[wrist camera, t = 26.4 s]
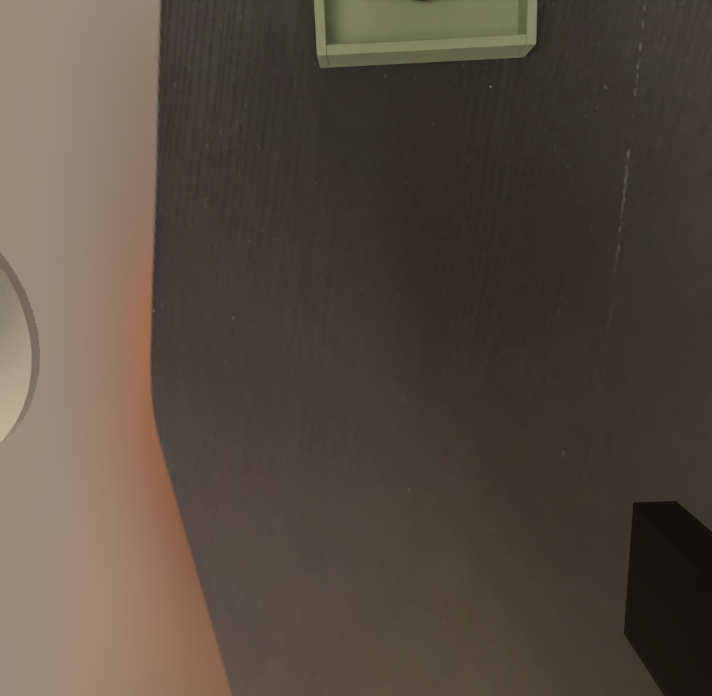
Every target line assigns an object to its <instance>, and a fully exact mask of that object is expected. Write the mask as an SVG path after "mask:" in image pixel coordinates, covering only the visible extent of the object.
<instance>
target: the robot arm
mask: <svg viewBox="0 0 712 696" xmlns="http://www.w3.org/2000/svg"><path fill="white" fill-rule="evenodd" d="M624 634H625V636H626V637H627V639H628V640H629V642H630V644H631V645H632V647H633V648H634V650H635V651H636V653H637V654H638V656H639V657H640V659H641V660H642V662H643V664H644V665H645V667H646V668H647V670H648V671H649V673H650V674H651V676H652V677H653V679H654V680H655V682H656V683H657V685H658V687H659V688H660V690H661V691H662V693H663V694H664V696H712V532H711V531H710V530H709V529H708V528H707V527H706V526H704V525H703V524H702V523H701V522H700V521H699V520H697V519H696V518H695V517H694V516H693V515H692V514H690V513H689V512H688V511H687V510H686V509H685V508H683V507H682V506H681V505H680V504H679V503H678V502H676V501H668V502H637V503H633V516H632V530H631V543H630V557H629V571H628V585H627V599H626V613H625V626H624Z"/></svg>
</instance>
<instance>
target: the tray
mask: <svg viewBox="0 0 712 696" xmlns="http://www.w3.org/2000/svg"><path fill="white" fill-rule="evenodd" d="M314 11H315V29H316V48H317V57H318V61H319V65H320V68H332V67H351V66H370V65H389V64H408V63H428V62H447V61H466V60H485V59H504V58H524V57H525V56H526V55H527V53H528V52H529V51H530V50H531V49H532V48H533V47H534V46H535V45H536V34H537V0H429V1H415V0H314Z"/></svg>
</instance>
